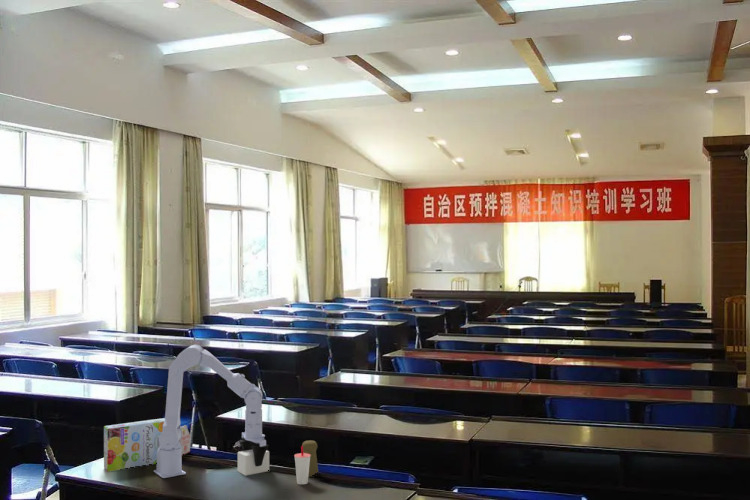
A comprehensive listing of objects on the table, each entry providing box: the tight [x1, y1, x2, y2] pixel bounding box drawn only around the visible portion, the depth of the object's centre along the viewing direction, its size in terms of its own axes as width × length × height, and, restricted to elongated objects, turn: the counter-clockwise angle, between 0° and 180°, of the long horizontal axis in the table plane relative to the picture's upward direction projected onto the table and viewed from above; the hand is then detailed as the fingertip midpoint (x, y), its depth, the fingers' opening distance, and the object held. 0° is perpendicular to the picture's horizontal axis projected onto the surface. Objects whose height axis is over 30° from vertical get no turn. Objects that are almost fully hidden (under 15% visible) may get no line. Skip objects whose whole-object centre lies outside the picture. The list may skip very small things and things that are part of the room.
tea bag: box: [179, 424, 191, 456], centre depth 257 cm, size 4×7×10 cm, turn 163°
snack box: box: [103, 417, 165, 473], centre depth 242 cm, size 21×6×15 cm, turn 124°
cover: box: [237, 449, 270, 476], centre depth 235 cm, size 6×9×7 cm, turn 127°
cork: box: [301, 439, 319, 477], centre depth 233 cm, size 6×6×11 cm
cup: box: [293, 445, 311, 485], centre depth 223 cm, size 5×5×12 cm
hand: (253, 463), depth 235 cm, fingers open, 7 cm apart
